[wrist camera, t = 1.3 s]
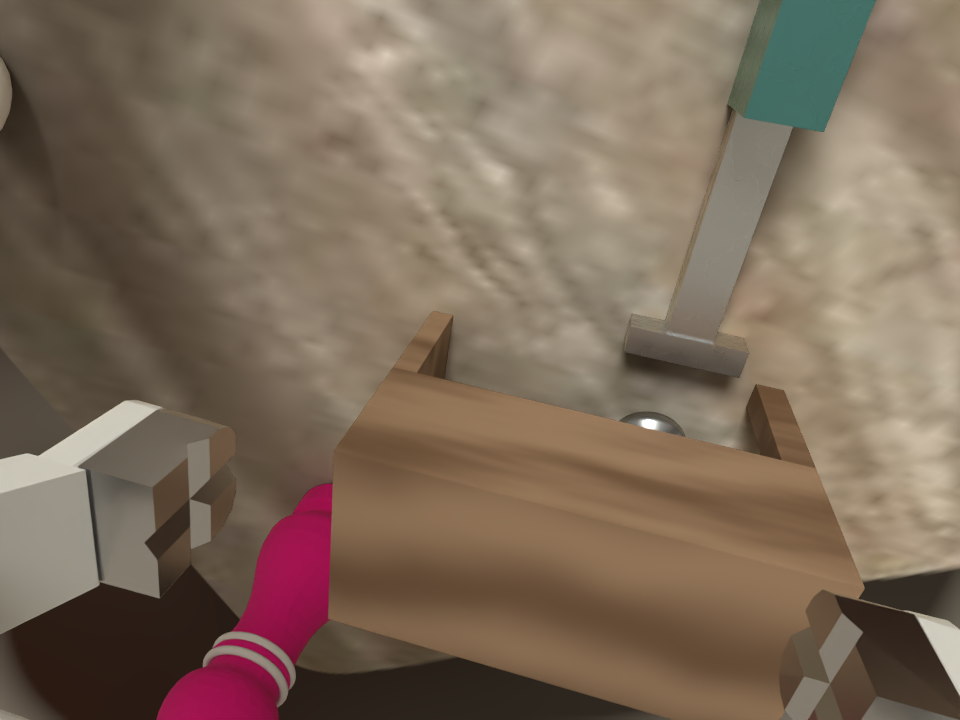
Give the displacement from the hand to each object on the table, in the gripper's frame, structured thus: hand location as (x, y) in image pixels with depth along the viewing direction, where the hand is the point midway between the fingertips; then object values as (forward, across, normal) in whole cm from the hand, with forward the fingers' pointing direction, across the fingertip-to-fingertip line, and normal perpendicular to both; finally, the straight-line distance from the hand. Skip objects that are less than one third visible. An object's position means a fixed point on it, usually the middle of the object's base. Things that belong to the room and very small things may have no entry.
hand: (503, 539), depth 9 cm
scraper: (+26, -7, -4) cm, 27 cm away
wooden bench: (+27, -3, +13) cm, 30 cm away
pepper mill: (+28, +12, +26) cm, 40 cm away
